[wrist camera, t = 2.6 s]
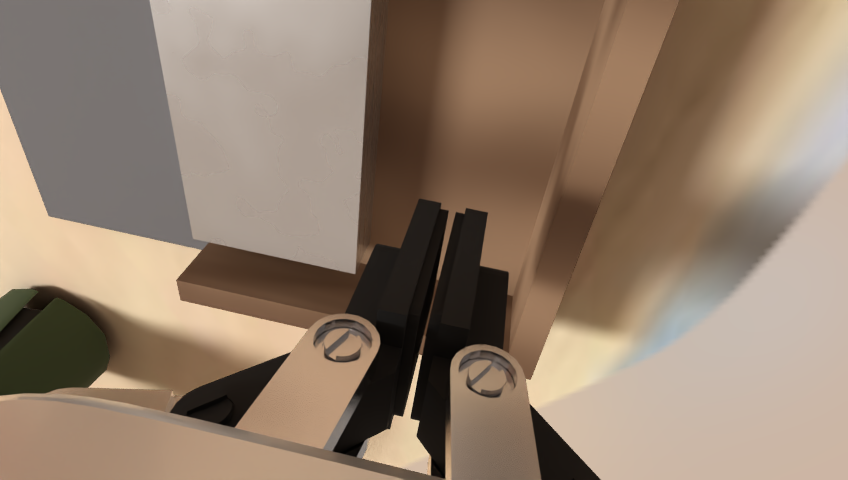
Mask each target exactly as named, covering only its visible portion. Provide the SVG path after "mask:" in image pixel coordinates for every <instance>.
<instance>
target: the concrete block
mask: <svg viewBox="0 0 848 480" xmlns="http://www.w3.org/2000/svg"><path fill="white" fill-rule="evenodd" d="M388 4H389V0H150V6H151V11H152V17H153V22H154V28H155V33H156V39H157V44H158V50H159V55H160V61H161V66H162V72H163V77H164V83H165V88H166V94H167V99H168V105H169V110H170V116H171V121H172V126H173V132H174V137H175V143H176V148H177V154H178V159H179V165H180V170H181V176H182V181H183V187H184V192H185V198H186V203H187V209H188V214H189V220H190V225H191V231H192V236H193V239H196V240H201V241H206V242H210V243H215V244H219V245H224V246H228V247H233V248H238V249H242V250H247V251H251V252H256V253H261V254H265V255H270V256H274V257H279V258H283V259H288V260H293V261H297V262H302V263H306V264H311V265H316V266H320V267H325V268H329V269H334V270H338V271H343V272H348V273H352V274H356V271H357V269H358V267H359V265H360V263H361V260H362V258H363V256H364V254H365V251H366V249H367V247H368V245H369V242H370V237H371V225H372V212H373V199H374V186H375V173H376V160H377V147H378V134H379V121H380V108H381V95H382V82H383V69H384V56H385V43H386V30H387V17H388Z"/></svg>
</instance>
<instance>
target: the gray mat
mask: <svg viewBox="0 0 848 480" xmlns="http://www.w3.org/2000/svg"><path fill="white" fill-rule="evenodd" d="M0 89H1V92H2V95H3V97H4V100H5V103H6V105H7V108H8V110H9V113H10V116H11V118H12V121H13V124H14V126H15V129H16V131H17V134H18V137H19V139H20V142H21V145H22V147H23V150H24V152H25V155H26V158H27V160H28V163H29V166H30V168H31V171H32V173H33V176H34V179H35V181H36V184H37V187H38V189H39V192H40V194H41V197H42V200H43V202H44V205H45V208H46V210H47V213H48V215H49V216H51V217H55V218H60V219H64V220H69V221H73V222H78V223H82V224H87V225H92V226H96V227H101V228H105V229H110V230H114V231H119V232H123V233H128V234H133V235H137V236H142V237H146V238H151V239H155V240H160V241H164V242H169V243H174V244H178V245H183V246H187V247H192V248H196V249H201V250H203V249H204V247H205V246H206V245H207V244H208V243H209V242H206V241H201V240H196V239H193V236H192V231H191V225H190V220H189V214H188V209H187V203H186V198H185V192H184V187H183V181H182V176H181V170H180V165H179V159H178V154H177V148H176V143H175V137H174V132H173V126H172V121H171V116H170V110H169V105H168V99H167V94H166V88H165V83H164V77H163V72H162V66H161V61H160V55H159V50H158V44H157V39H156V33H155V28H154V22H153V17H152V11H151V6H150V0H0Z"/></svg>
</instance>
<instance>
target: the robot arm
mask: <svg viewBox="0 0 848 480" xmlns="http://www.w3.org/2000/svg"><path fill="white" fill-rule="evenodd" d="M448 213H449V210H444V209H441V203H440V202H435V201H430V200H425V199H419V200H418V203H417V205H416V208H415V211H414V213H413V216H412V219H411V222H410V224H409V227H408V230H407V232H406V235H405V238H404V240H403V243H402V246H401V248H396V247H391V246H386V245H382V244H376V245H375V247H374V249H373V251H372V253H371V256H370V258H369V260H368V262H367V265H366V267H365V269H364V271H363V274H362V276H361V278H360V280H359V282H358V285H357V287H356V289H355V291H354V294H353V296H352V298H351V300H350V303H349V305H348V307H347V309H346V312H345V314H334V315H329V316H326V317H324V318H322V319H320V320H318V321H316V322H315V323H314V324H313V325H312V326H311V327H310V328H309V329H308V331H307V332H306V333H305V335H304V336H303V337H302V339H301V340H300V341H299V343H298V344H297V345H296V347H295V348H294V349H293V351H292V352H290V353H287V354H285V355H282V356H279V357H277V358H274V359H272V360H269V361H266V362H264V363H261V364H258V365H256V366H253V367H251V368H248V369H245V370H243V371H240V372H237V373H235V374H232V375H230V376H227V377H224V378H222V379H219V380H216V381H214V382H211V383H209V384H206V385H203V386H201V387H198V388H196V389H194V390H193V391H191V392H189V393H187V394H186V395H184V396H174V393H173V390H144V389H109V388H74V387H72V388H63V389H57V390H54V391H51V392H48V393H46V394H34V393H23V394H13V395H3V396H0V480H600V479H599V477H598V476H597V475H596V474H595V473H594V472H593V471H592V470H591V469H590V468H589V467H588V466H587V465H586V464H585V462H584V461H583V460H582V459H581V458H580V457H579V456H578V455H577V454H576V453H575V452H574V451H573V450H572V449H571V448H570V447H569V445H568V444H567V443H566V442H565V441H564V440H563V439H562V438H561V437H560V436H559V435H558V434H557V433H556V431H554V429H553V428H552V427H551V426H550V425H549V424H548V423H547V422H546V421H545V420H544V419H543V417H542V416H541V415H540V414H539V413H538V412H537V411H536V410H535V409H534V408H533V407H532V406H531V405H530V404H529V397H528V391H527V385H526V378H525V375H524V372H523V369H522V367H521V366H520V364H519V363H518V362H517V360H516V359H515V358H514V357H512V356H511V355H510V354H509V353H507V352H506V351H504V350H503V345H504V333H505V320H506V307H507V294H508V281H509V272H508V271H503V270H498V269H494V268H489V267H484V266H480V261H481V255H482V248H483V242H484V235H485V229H486V222H487V216H488V212H483V211H478V210H474V209H469V208H466V210H465V214H463V213H459V212H456V213H455V217H454V221H453V225H452V229H451V233H450V237H449V241H448V245H447V249H446V253H445V257H444V261H443V265H442V269H441V273H440V277H439V281H438V285H437V289H436V293H435V297H434V301H433V305H432V309H431V313H430V318H429V322H428V327H427V332H426V338H425V343H424V348H423V354H422V359H421V364H420V370H419V375H418V381H417V386H416V391H415V397H414V402H413V407H412V413H411V419H415V420H419V421H420V422H419V427H418V432H417V438H418V439H419V440H420V442H421V443H422V445H423V446H424V447H425V449H426V450H427V452H428V453H429V454H430V455H429V460H428V471H427V475H426V474H422V473H418V472H414V471H410V470H406V469H402V468H398V467H394V466H390V465H386V464H382V463H378V462H374V461H369V460H365V459H362V458H363V455H364V453H365V451H366V449H367V446H368V443H369V438H370V437H372V436H374V435H376V434H378V433H380V432H382V431H384V430H386V429H390V427H391V423H392V419H393V416H394V415H398V416H402V417H403V414H404V410H405V407H406V403H407V399H408V395H409V391H410V387H411V383H412V379H413V375H414V371H415V367H416V363H417V359H418V355H419V351H420V347H421V343H422V339H423V335H424V332H425V328H426V324H427V320H428V316H429V312H430V308H431V304H432V299H433V294H434V289H435V283H436V278H437V273H438V267H439V262H440V257H441V251H442V246H443V240H444V235H445V230H446V224H447V219H448Z"/></svg>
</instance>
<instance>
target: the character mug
mask: <svg viewBox="0 0 848 480" xmlns="http://www.w3.org/2000/svg"><path fill="white" fill-rule="evenodd" d="M38 292H39V291H36V290H34V289H12V290H11V291H9V292H8V293H7V294H5V295H4V296H3V297H1V298H0V396H3V395H13V394H23V393H34V394H46V393H48V392H51V391H54V390H57V389H63V388H72V387H74V388H88V387H89V386H90V385H91V384H92V383H93V382H94V381H95V380H96V379H97V378H98V377H99V376H100V375H101V374H102V373H104V372H105V371H106V370H107V366H108V362H109V358H110V355H109V350H108V346H107V341H106V337H105V334H104V333H103V332H102V331H101V330H100V329H99V327H98V326H97V325H96V324H95V323H94V322H93V321H92V320H91V319H90V318H89V316H88V315H86V314H85V313H83V312H82V311H80V310H79V309H77V308H76V307H74V306H73V305H71V304H69V303H68V302H66V301H65V300H63V299H60V298H55V299H54V300H53V301H52V302H50V303H49V304H48V305H47V306H46V307H45V308H44V309H43V310H42V311H41V310H36V309H29V308H23V307H24V306H25V305H26V304H27V303H28V302H29V301H30V300H31V299H32V298H33V297H34V296H35V295H36V294H37V293H38Z"/></svg>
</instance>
